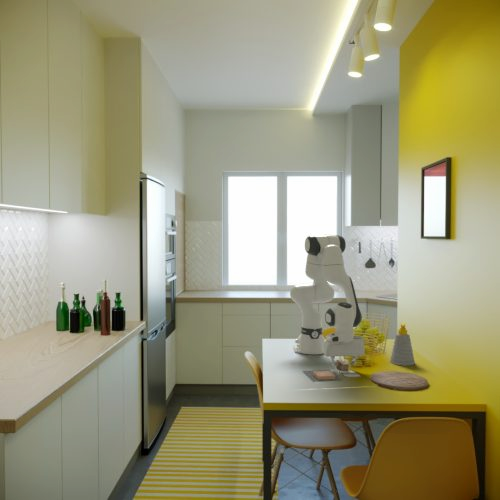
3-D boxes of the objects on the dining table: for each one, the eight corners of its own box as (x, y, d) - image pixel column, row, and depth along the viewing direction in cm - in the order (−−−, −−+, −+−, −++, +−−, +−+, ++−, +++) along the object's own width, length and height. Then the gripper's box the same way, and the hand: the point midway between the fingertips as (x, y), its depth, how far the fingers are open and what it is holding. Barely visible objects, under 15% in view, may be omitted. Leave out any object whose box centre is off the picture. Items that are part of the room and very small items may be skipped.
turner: (332, 368, 240) (332, 360, 239) (345, 367, 241) (345, 359, 241) (346, 378, 222) (346, 369, 222) (360, 377, 223) (360, 369, 223)
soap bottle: (389, 364, 248) (390, 325, 248) (390, 359, 260) (391, 321, 260) (414, 366, 244) (415, 326, 244) (414, 361, 256) (415, 323, 256)
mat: (301, 372, 231) (301, 371, 231) (329, 370, 234) (329, 369, 234) (313, 382, 214) (313, 381, 214) (343, 381, 216) (343, 380, 216)
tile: (312, 371, 224) (318, 376, 216) (329, 370, 226) (335, 375, 218) (312, 375, 224) (318, 380, 216) (329, 374, 226) (335, 379, 218)
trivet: (359, 377, 224) (359, 373, 224) (403, 373, 233) (403, 369, 233) (393, 393, 201) (393, 389, 201) (440, 388, 210) (440, 383, 210)
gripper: (361, 334, 239) (361, 362, 239) (322, 335, 235) (322, 364, 235) (367, 337, 232) (366, 365, 233) (326, 338, 229) (326, 367, 229)
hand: (344, 364), depth 234 cm, fingers open, 8 cm apart
